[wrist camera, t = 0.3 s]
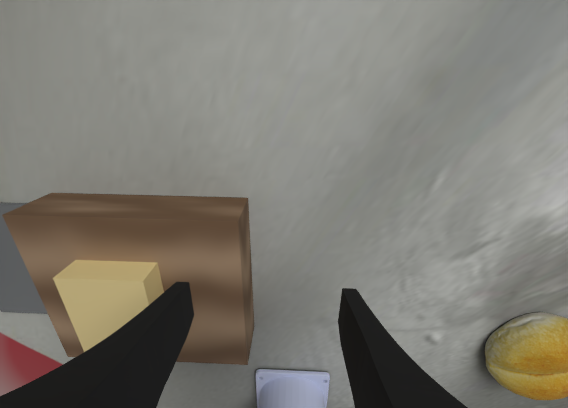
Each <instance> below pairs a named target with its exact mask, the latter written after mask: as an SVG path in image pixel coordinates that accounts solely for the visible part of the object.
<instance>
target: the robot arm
mask: <svg viewBox="0 0 568 408" xmlns="http://www.w3.org/2000/svg"><path fill="white" fill-rule="evenodd" d="M193 317H194V310H193V303H192V297H191V290H190V284H189V282H175V283H174V284H173V285H172V286H171V287H170V288H168V289H167V290H166V291H165V292H164V293H163V294H161V295H160V296H159V297H158V298H157V299H156V300H154V301H153V302H152V303H151V304H150V305H149V306H147V307H146V308H145V309H144V310H143V311H141V312H140V313H139V314H138V315H136V316H135V317H134V318H132V319H131V320H130V321H129V322H127V323H126V324H125V325H123V326H122V327H121V328H120V329H118V330H117V331H115V332H114V333H113V334H111V335H110V336H108V337H107V338H105V339H104V340H102V341H101V342H99V343H98V344H96V345H95V346H93V347H92V348H90V349H89V350H87V351H85V352H84V353H82V354H80V355H79V356H77V357H75V358H74V359H72V360H70V361H69V362H67V363H65V364H64V365H62V366H60V367H58V368H56V369H55V370H53V371H51V372H49V373H47V374H45V375H43V376H41V377H39V378H38V379H36V380H34V381H32V382H30V383H28V384H26V385H24V386H22V387H20V388H18V389H15V390H13V391H11V392H9V393H7V394H5V395H2V396H0V408H156V407H157V404H158V401H159V398H160V396H161V393H162V391H163V389H164V386H165V384H166V382H167V380H168V378H169V375H170V373H171V371H172V369H173V367H174V365H175V362H176V360H177V358H178V356H179V354H180V352H181V349H182V347H183V345H184V343H185V341H186V338H187V336H188V333H189V330H190V327H191V324H192V321H193ZM338 324H339V333H340V341H341V347H342V351H343V356H344V360H345V364H346V369H347V373H348V377H349V382H350V386H351V390H352V394H353V399H354V405H355V408H467V407H466V406H465V405H463V404H462V403H461V402H460V401H458V400H457V399H456V398H455V397H453V396H452V395H451V394H450V393H448V392H447V391H446V390H445V389H444V388H443V387H441V386H440V385H439V384H438V383H437V382H436V381H435V380H434V379H432V378H431V377H430V376H429V375H428V374H427V373H426V372H425V371H424V370H422V369H421V368H420V367H419V366H418V365H417V364H416V363H415V362H414V361H413V360H412V359H411V358H410V357H409V356H408V355H407V354H406V352H405V351H404V350H403V349H402V348H401V347H400V346H399V345H398V344H397V342H396V341H395V340H394V339H393V338H392V337H391V335H390V334H389V333H388V332H387V331H386V329H385V328H384V327H383V326H382V324H381V323H380V322H379V320H378V319H377V318H376V317H375V315H374V314H373V313H372V311H371V310H370V308H369V307H368V306H367V304H366V303H365V301H364V300H363V298H362V297H361V295H360V294H359V292H358V291H357V290H356V289H346V288H342V296H341V303H340V311H339V319H338ZM329 381H330V375H329V373H327V372H315V371H293V370H271V369H258V370H257V371H256V393H257V408H326V406H327V398H328V389H329Z"/></svg>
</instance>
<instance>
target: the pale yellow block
mask: <svg viewBox="0 0 568 408" xmlns="http://www.w3.org/2000/svg"><path fill="white" fill-rule="evenodd" d="M53 280H54V282H55V284H56V287H57V289H58V291H59V294H60V296H61V299H62V301H63V303H64V306H65V308H66V310H67V313H68V315H69V317H70V320H71V322H72V324H73V327H74V329H75V332H76V334H77V336H78V339H79V341H80V343H81V346H82V348H83V350H84V352H85V351H87V350H89V349H90V348H92V347H93V346H95V345H96V344H98V343H99V342H101V341H102V340H104V339H105V338H107V337H108V336H110V335H111V334H113V333H114V332H115V331H117V330H118V329H120V328H121V327H122V326H123V325H125V324H126V323H127V322H129V321H130V320H131V319H132V318H134V317H135V316H136V315H138V314H139V313H140V312H141V311H143V310H144V309H145V308H146V307H147V306H149V305H150V304H151V303H152V302H153V301H154V300H156V299H157V298H158V297H159V296H160V295H161V294H163V293H164V290H163V285H162V281H161V276H160V272H159V267H158V263H155V262H125V261H95V260H75V261H74V262H72V263H71V264H70V265H69V266H67V267H66V268H65V269H64V270H62V271H61V272H60V273H59V274H57V275H56V276H55V277H54V278H53Z"/></svg>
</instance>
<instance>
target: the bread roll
mask: <svg viewBox="0 0 568 408" xmlns="http://www.w3.org/2000/svg"><path fill="white" fill-rule="evenodd" d="M485 356H486V367H487V369H488V371H489V372H490V374H491V375H492V376H493V377H494V378H495V379H496V381H497V382H498V383H499V384H500V385H502V386H503V387H505V388H506V389H508V390H510V391H512V392H513V393H515V394H518V395H521V396H524V397H527V398H531V399H535V400H555V399H561V398H564V397H567V396H568V319H567V318H564V317H561V316H557V315H554V314H550V313H545V312H537V313H529V314H525V315H522V316H519V317H517V318H514V319H512V320H510V321H509V322H507V323H506V324H504V325H503V326H501V327H500V328H498V329H497V330H496V331H494V332H493V333H492V334H491V335H490V337H489V338H488V340H487V342H486V345H485Z"/></svg>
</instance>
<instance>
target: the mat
mask: <svg viewBox="0 0 568 408" xmlns="http://www.w3.org/2000/svg"><path fill="white" fill-rule="evenodd" d="M25 204H27V203H0V310H1V312H20V313H45V314H48V313H47V311H46V308H45V306H44V304H43V302H42V300H41V298H40V296H39V293H38V291H37V289H36V287H35V285H34V283H33V280H32V278H31V276H30V274H29V272H28V270H27V268H26V265H25V263H24V261H23V259H22V257H21V255H20V253H19V250H18V248H17V246H16V244H15V242H14V240H13V237H12V235H11V233H10V231H9V229H8V227H7V225H6V222H5V220H4V218H3V216H2V215H3V214H5V213H7V212H10V211H12V210H14V209H16V208H19V207H21V206H23V205H25Z"/></svg>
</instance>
